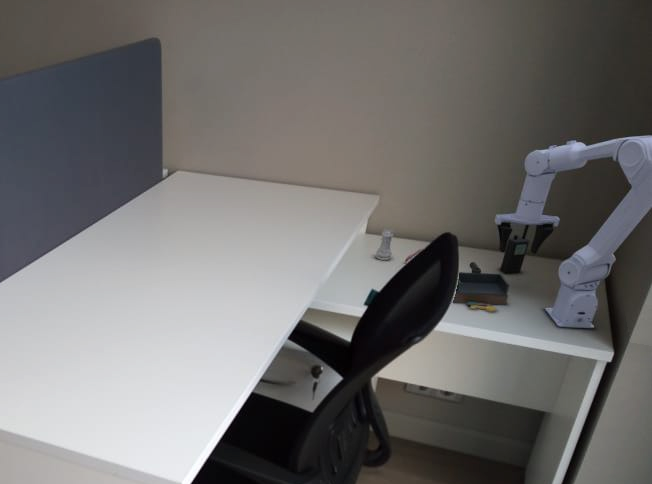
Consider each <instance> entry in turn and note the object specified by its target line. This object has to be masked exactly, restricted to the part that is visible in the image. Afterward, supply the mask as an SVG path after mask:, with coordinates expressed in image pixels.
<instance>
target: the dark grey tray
mask: <svg viewBox="0 0 652 484" xmlns="http://www.w3.org/2000/svg"><path fill="white" fill-rule="evenodd" d="M469 268H470V269H471V272H467V271H466V272H465V271H458V272H459V279H458V285H457V289H456V293H459V294H482V295H504V296H507V295H508V292H509V289H510V285H511V284H510V283H509V281H508V280H506V277H504V276H503V274H502V273H490V272H489V273H488V272H482V269H481V268H480V267H479V266H478V264H477V263H476V262H475V261H471V262H470V263H469Z"/></svg>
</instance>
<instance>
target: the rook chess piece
mask: <svg viewBox="0 0 652 484" xmlns="http://www.w3.org/2000/svg"><path fill="white" fill-rule="evenodd" d="M393 236H394V232H393V230H392V229H391V230H390V229H384V230H383V231H382V232H381V243H380V246H379V248H378V249H377V250H376V252H375V258H376V259H377V260H380V261H389V260H391V259H392V254H393V253H392V250H391V243H392V237H393Z"/></svg>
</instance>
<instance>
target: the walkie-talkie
mask: <svg viewBox="0 0 652 484" xmlns="http://www.w3.org/2000/svg"><path fill="white" fill-rule="evenodd" d="M529 227H530V225H526V224H525V226H524V229H523V233H522V236H519V235H518V234H514V235H513V237H509V239H508V242H507V246H506V250H505V252H504V254H503V258H502V261H501V265H500V268H499V270H500V271H501V272H503V273H504V274H518V273H520V272H521V270H522V267H523V263H524V260H525V258H526V257H525V256H526V253H527V250H528V248H529V244H530V240H529V239H528V238H526V237H527V234H528V230H529Z"/></svg>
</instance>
